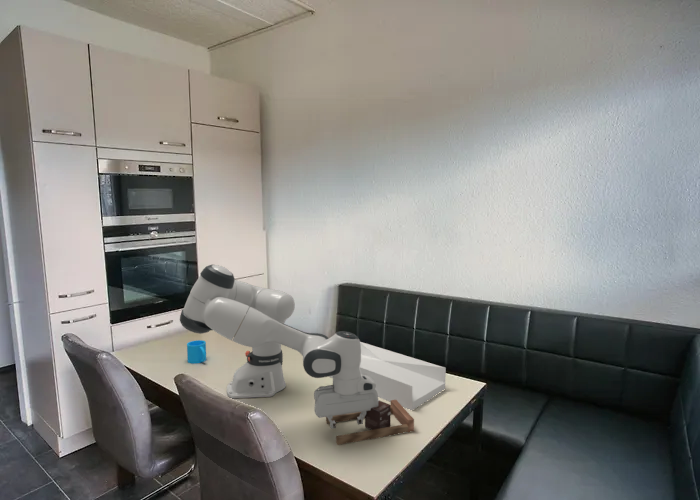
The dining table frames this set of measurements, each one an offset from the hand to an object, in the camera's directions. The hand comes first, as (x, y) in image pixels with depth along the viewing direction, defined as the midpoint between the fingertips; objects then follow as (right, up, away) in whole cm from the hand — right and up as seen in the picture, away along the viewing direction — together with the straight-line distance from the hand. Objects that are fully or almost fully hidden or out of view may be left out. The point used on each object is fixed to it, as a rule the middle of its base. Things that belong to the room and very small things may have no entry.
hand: (346, 425), depth 129 cm
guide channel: (+6, -1, +2) cm, 7 cm away
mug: (-68, +4, +58) cm, 89 cm away
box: (+10, -2, +3) cm, 10 cm away
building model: (+14, +1, +36) cm, 39 cm away
